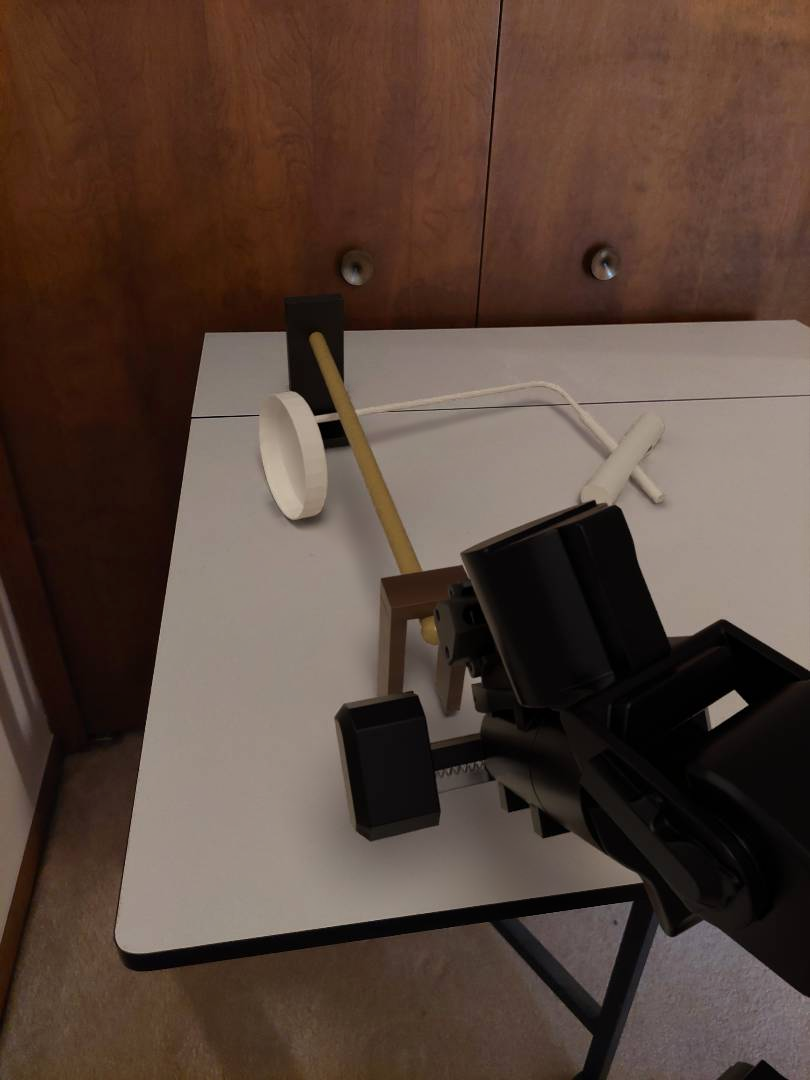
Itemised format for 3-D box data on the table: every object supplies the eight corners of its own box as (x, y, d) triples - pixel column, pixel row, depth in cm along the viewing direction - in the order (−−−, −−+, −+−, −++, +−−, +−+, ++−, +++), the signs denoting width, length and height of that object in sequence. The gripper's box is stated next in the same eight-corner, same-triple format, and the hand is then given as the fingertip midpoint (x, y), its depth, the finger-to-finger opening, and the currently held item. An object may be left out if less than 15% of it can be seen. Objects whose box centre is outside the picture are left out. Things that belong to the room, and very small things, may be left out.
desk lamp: (359, 531, 65) (742, 441, 84) (262, 368, 77) (616, 322, 97) (339, 623, 74) (690, 522, 93) (255, 463, 86) (580, 404, 106)
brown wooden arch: (460, 710, 63) (476, 593, 54) (386, 725, 62) (391, 608, 53) (448, 680, 65) (462, 564, 56) (376, 695, 64) (380, 577, 55)
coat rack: (476, 734, 63) (502, 587, 52) (377, 755, 61) (384, 608, 50) (344, 407, 97) (343, 279, 87) (278, 414, 96) (269, 284, 85)
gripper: (757, 535, 35) (595, 554, 50) (341, 605, 31) (301, 603, 46) (801, 788, 35) (625, 730, 50) (386, 895, 30) (331, 796, 46)
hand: (476, 710), depth 48 cm, fingers open, 9 cm apart
